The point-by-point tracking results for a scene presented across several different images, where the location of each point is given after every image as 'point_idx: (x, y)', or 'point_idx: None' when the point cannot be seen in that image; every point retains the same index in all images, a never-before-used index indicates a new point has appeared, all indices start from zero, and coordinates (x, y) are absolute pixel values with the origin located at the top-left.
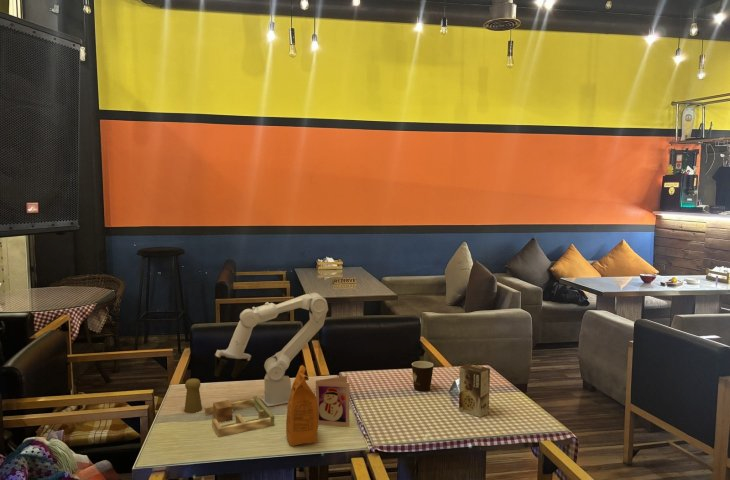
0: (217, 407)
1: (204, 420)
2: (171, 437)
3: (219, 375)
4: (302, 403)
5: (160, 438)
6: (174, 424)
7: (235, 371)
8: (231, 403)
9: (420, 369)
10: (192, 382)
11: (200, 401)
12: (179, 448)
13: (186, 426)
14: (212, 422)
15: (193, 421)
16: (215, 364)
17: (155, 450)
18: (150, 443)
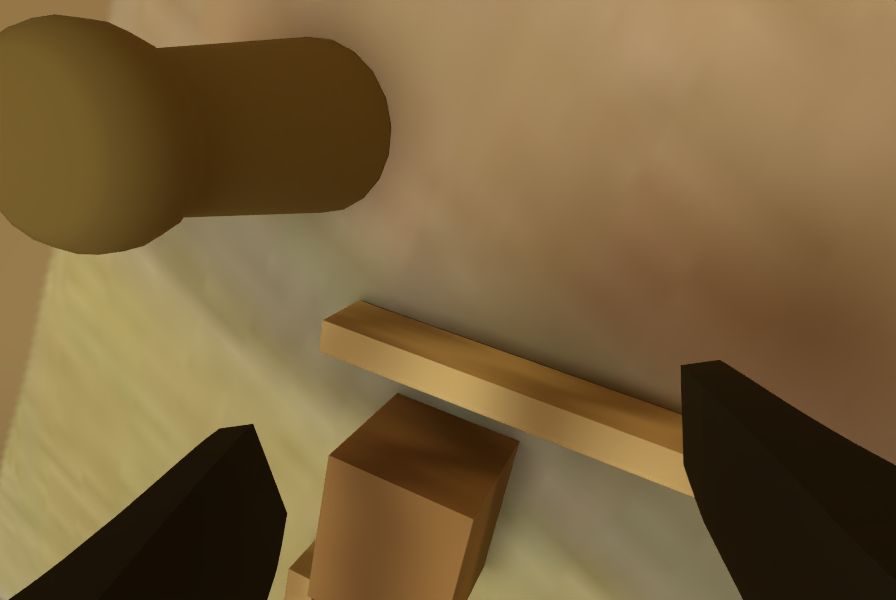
0: (319, 572)
1: (316, 402)
2: (100, 454)
3: (265, 565)
4: None
5: (55, 418)
6: (140, 301)
7: (748, 538)
8: (571, 440)
9: None
10: (16, 227)
11: (317, 188)
12: None
13: (193, 391)
14: (301, 558)
15: (250, 355)
16: (22, 597)
17: (27, 514)
18: (13, 430)
